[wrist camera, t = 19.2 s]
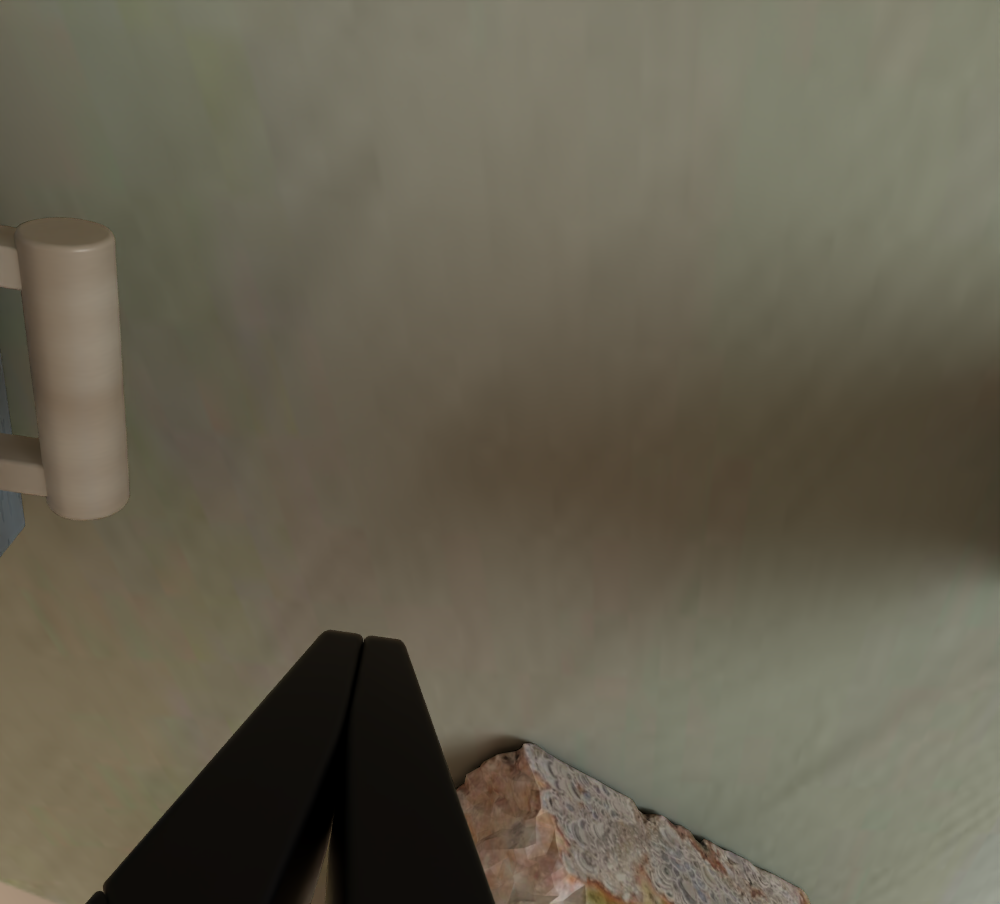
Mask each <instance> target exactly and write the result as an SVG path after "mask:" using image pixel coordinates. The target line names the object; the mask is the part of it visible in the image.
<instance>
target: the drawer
mask: <svg viewBox="0 0 1000 904" xmlns="http://www.w3.org/2000/svg"><path fill="white" fill-rule="evenodd" d="M0 287H3V288H9V289H15V290H21V296H22V304H23V312H24V320H25V328H26V336H27V344H28V353H29V361H30V369H31V377H32V385H33V393H34V401H35V409H36V417H37V425H38V433H39V438H32V437H25V436H19V435H12V428H11V421H10V414H9V407H8V400H7V393H6V386H5V379H4V372H3V365H2V358H1V351H0V557H1V556H2V554H3V553H4V552H5V551H6V549H7V548H8V547H9V546H10V544H11V543H12V542H13V541H14V539H15V538H16V537H17V536H18V534H19V533H20V532H21V531H22V529H23V528H24V527H25V519H24V512H23V505H22V498H21V493H24V494H31V495H38V496H45V497H46V498H47V503H48V505H49V507H50V508H51V510H52V511H53V512H54V513H56V514H57V515H59V516H61V517H64V518H67V519H71V520H79V521H88V520H96V519H101V518H105V517H108V516H110V515H113V514H115V513H116V512H118V511H120V510H121V509H122V508H123V507H124V506H125V505H126V503H127V501H128V499H129V497H130V485H129V468H128V451H127V434H126V417H125V400H124V383H123V366H122V349H121V332H120V315H119V298H118V281H117V264H116V247H115V237H114V235H113V233H112V232H111V230H110V229H108V228H107V227H105V226H103V225H101V224H98V223H95V222H91V221H87V220H82V219H76V218H64V217H53V218H42V219H36V220H31V221H27V222H25V223H22V224H20V225H19V226H18V227H17V228H15V227H9V226H3V225H0Z"/></svg>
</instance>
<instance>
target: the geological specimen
mask: <svg viewBox="0 0 1000 904" xmlns="http://www.w3.org/2000/svg"><path fill="white" fill-rule="evenodd" d="M456 792H457V795H458V798H459V801H460V803H461V806H462V809H463V812H464V815H465V818H466V821H467V823H468V826H469V829H470V832H471V835H472V838H473V841H474V843H475V846H476V849H477V852H478V855H479V858H480V861H481V864H482V866H483V869H484V872H485V875H486V878H487V881H488V884H489V886H490V889H491V892H492V895H493V898H494V901H495V904H811V903H810V901H809V899H808V896H807V895H806V894H805V892H804V891H803V890H802V889H800V888H798V887H796V886H794V885H792V884H791V883H789V882H787V881H785V880H783V879H781V878H779V877H778V876H776V875H774V874H772V873H769V872H767V871H765V870H762V869H760V868H758V867H755V866H754V865H753V864H751V863H750V862H749V861H748V860H746V859H744V858H742V857H740V856H738V855H736V854H734V853H732V852H730V851H725V850H723V849H721V848H719V847H718V846H716V845H715V844H713V843H712V842H710V841H708V840H705V839H703V840H702V841H701V842H700V843H699V842H698V841H696V840H695V838H694V837H693V835H692V833H691V832H690V831H689V830H687V829H686V828H684V827H682V826H681V825H674V824H672V823H671V822H670V821H669V820H668V819H667V818H666V817H664V816H662V815H657V814H642V813H641V812H640V811H639V810H638V809H637V807H636V805H635V803H634V801H633V800H632V799H631V798H629V797H627V796H625V795H623V794H620V793H618V792H616V791H614V790H612V789H611V788H609V787H608V786H606V785H604V784H603V783H601V782H599V781H597V780H595V779H594V778H592V777H590V776H588V775H586V774H584V773H582V772H580V771H578V770H577V769H575V768H573V767H571V766H569V765H567V764H565V763H564V762H562V761H560V760H558V759H557V758H555V757H553V756H552V755H550V754H548V753H547V752H545V751H544V750H543V749H541V748H540V747H539V746H537V745H535V744H532V743H526V744H523V746H522V748H521V749H519V750H517V751H514V752H507V753H502V754H497V755H496V756H495V757H492V758H490V759H488V760H486V761H484V762H483V763H482V765H481V766H480V767H479V768H477V769H475V770H474V771H472V772H470V773H468V774H466V779H465V783H464V784H462V785H461V786H460V787H459V788H458V789H457V790H456Z"/></svg>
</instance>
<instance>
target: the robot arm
mask: <svg viewBox="0 0 1000 904" xmlns="http://www.w3.org/2000/svg"><path fill="white" fill-rule="evenodd" d="M333 816H334V817H333ZM332 822H333V824H332ZM331 827H332V831H331ZM330 832H331V838H330V845H329V854H328V866H327V879H326V896H325V904H495V901H494V898H493V895H492V892H491V889H490V886H489V884H488V881H487V878H486V875H485V872H484V869H483V866H482V864H481V861H480V858H479V855H478V852H477V849H476V846H475V843H474V841H473V838H472V835H471V832H470V829H469V826H468V823H467V821H466V818H465V815H464V812H463V809H462V806H461V803H460V801H459V798H458V795H457V792H456V789H455V786H454V783H453V780H452V778H451V775H450V772H449V769H448V766H447V763H446V760H445V758H444V755H443V752H442V749H441V746H440V743H439V740H438V738H437V735H436V732H435V729H434V726H433V723H432V720H431V718H430V715H429V712H428V709H427V706H426V703H425V700H424V697H423V695H422V692H421V689H420V686H419V683H418V680H417V677H416V675H415V672H414V669H413V666H412V663H411V660H410V657H409V655H408V652H407V649H406V646H405V645H404V643H403V642H402V641H401V640H398V639H392V638H385V637H378V636H368V637H366V638H365V639H364V642H363V638H362V636H361V635H360V634H356V633H349V632H342V631H335V630H327V631H324V632H323V633H322V634H321V635H320V636H319V637H318V638H317V639H316V640H315V641H314V643H313V644H312V645H311V646H310V647H309V648H308V649H307V651H306V652H305V653H304V654H303V655H302V656H301V658H300V659H299V660H298V661H297V662H296V663H295V664H294V666H293V667H292V668H291V669H290V670H289V671H288V672H287V674H286V675H285V676H284V677H283V678H282V679H281V680H280V682H279V683H278V684H277V685H276V686H275V687H274V689H273V690H272V691H271V692H270V693H269V694H268V695H267V697H266V698H265V699H264V700H263V701H262V702H261V703H260V705H259V706H258V707H257V708H256V709H255V710H254V711H253V713H252V714H251V715H250V716H249V717H248V718H247V720H246V721H245V722H244V723H243V724H242V725H241V726H240V728H239V729H238V730H237V731H236V732H235V733H234V734H233V736H232V737H231V738H230V739H229V740H228V741H227V743H226V744H225V745H224V746H223V747H222V748H221V749H220V751H219V752H218V753H217V754H216V755H215V756H214V757H213V759H212V760H211V761H210V762H209V763H208V764H207V765H206V767H205V768H204V769H203V770H202V771H201V772H200V774H199V775H198V776H197V777H196V778H195V779H194V780H193V782H192V783H191V784H190V785H189V786H188V787H187V788H186V790H185V791H184V792H183V793H182V794H181V795H180V796H179V798H178V799H177V800H176V801H175V802H174V803H173V805H172V806H171V807H170V808H169V809H168V810H167V811H166V813H165V814H164V815H163V816H162V817H161V818H160V819H159V821H158V822H157V823H156V824H155V825H154V826H153V828H152V829H151V830H150V831H149V832H148V833H147V834H146V836H145V837H144V838H143V839H142V840H141V841H140V842H139V844H138V845H137V846H136V847H135V848H134V849H133V850H132V852H131V853H130V854H129V855H128V856H127V857H126V859H125V860H124V861H123V862H122V863H121V864H120V865H119V867H118V868H117V869H116V870H115V871H114V872H113V873H112V875H111V876H110V877H109V878H108V879H107V880H106V881H105V883H104V885H103V892H102V891H97V892H96V893H95V894H94V895H93V896H92V897H91V898H90V899H89V900H88V902H87V903H86V904H311V901H312V898H313V894H314V891H315V888H316V885H317V881H318V878H319V875H320V871H321V868H322V864H323V861H324V857H325V853H326V850H327V846H328V841H329V836H330Z"/></svg>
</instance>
